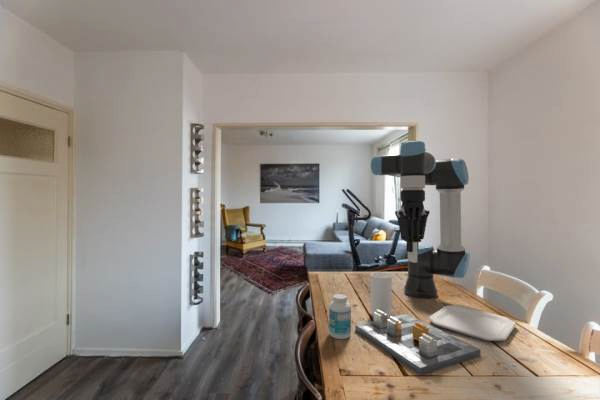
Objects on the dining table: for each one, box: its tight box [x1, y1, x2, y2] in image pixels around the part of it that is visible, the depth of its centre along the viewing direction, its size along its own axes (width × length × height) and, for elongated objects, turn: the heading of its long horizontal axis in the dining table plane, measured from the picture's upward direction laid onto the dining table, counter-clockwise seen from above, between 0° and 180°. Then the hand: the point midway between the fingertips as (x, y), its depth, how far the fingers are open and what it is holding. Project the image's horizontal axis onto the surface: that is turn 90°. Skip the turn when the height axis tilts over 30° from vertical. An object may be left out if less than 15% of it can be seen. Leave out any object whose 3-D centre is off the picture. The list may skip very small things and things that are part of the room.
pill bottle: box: [328, 293, 352, 340], centre depth 104 cm, size 8×7×14 cm
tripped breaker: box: [413, 322, 429, 341], centre depth 96 cm, size 3×4×5 cm
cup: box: [370, 272, 393, 318], centre depth 122 cm, size 8×8×16 cm
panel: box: [354, 309, 481, 377], centre depth 99 cm, size 24×30×7 cm
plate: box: [428, 305, 517, 342], centre depth 112 cm, size 25×25×2 cm
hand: (412, 261), depth 99 cm, fingers closed
